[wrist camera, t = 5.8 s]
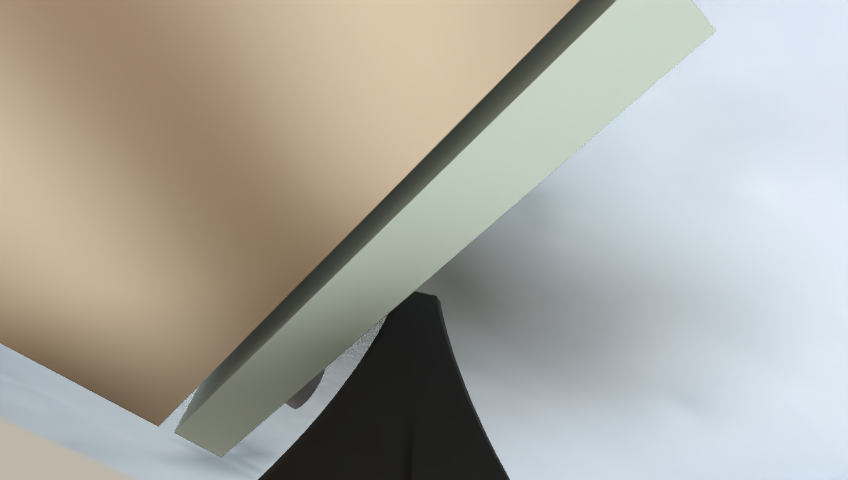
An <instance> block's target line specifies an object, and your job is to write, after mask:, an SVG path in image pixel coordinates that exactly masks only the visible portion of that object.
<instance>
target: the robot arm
mask: <svg viewBox="0 0 848 480" xmlns="http://www.w3.org/2000/svg"><path fill="white" fill-rule="evenodd" d="M258 480H510V479H509V477H508V475H507V473H506V471H505V470H504V468H503V466H502V464H501V462H500V460H499V458H498V457H497V455H496V453H495V451H494V449H493V447H492V445H491V443H490V441H489V439H488V437H487V435H486V433H485V430H484V428H483V426H482V424H481V422H480V420H479V417H478V415H477V413H476V411H475V408H474V406H473V404H472V401H471V399H470V397H469V394H468V392H467V389H466V387H465V384H464V381H463V379H462V376H461V373H460V370H459V368H458V365H457V362H456V360H455V357H454V354H453V351H452V347H451V344H450V341H449V337H448V334H447V331H446V327H445V323H444V319H443V314H442V310H441V304H440V301H439V299H438V298H437V296H434V295H429V294H424V293H420V292H415V291H414V292H413V293H412V294H410V295H409V296H408V297H407V298H406V299H405V300H403V301H402V302H401V303H400V304H399V305H398V306H396V307H395V308H394V309H393V310H392V311H391V312H389V313H388V315H387V318H386V320H385V321H384V323H383V325H382V327H381V329H380V331H379V333H378V334H377V336H376V338H375V339H374V341H373V342H372V344H371V346H370V347H369V349H368V350H367V352H366V354H365V355H364V357H363V358H362V360H361V361H360V363H359V364H358V366H357V367H356V368H355V370H354V371H353V373H352V374H351V375H350V377H349V378H348V379H347V381H346V382H345V383H344V385H343V386H342V387H341V389H340V390H339V391H338V393H337V394H336V395H335V397H334V398H333V399H332V400H331V402H330V403H329V404H328V405H327V407H326V408H325V409H324V410H323V411H322V413H321V414H320V415H319V416H318V417H317V418H316V420H315V421H314V422H313V423H312V424H311V425H310V426H309V427H308V429H307V430H306V431H305V432H304V433H303V434H302V435H301V436H300V437H299V439H298V440H297V441H296V442H295V443H294V444H293V445H292V446H291V447H290V448H289V449H288V450H287V451H286V452H285V453H284V454H283V455H282V456H281V457H280V458H279V459H278V460H277V461H276V463H275V464H274V465H273V466H272V467H270V468H269V469H268V470H267V471H266V472H265V473H264V474H263V475H262V476H261V477H260V478H259V479H258Z"/></svg>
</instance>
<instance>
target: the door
mask: <svg viewBox="0 0 848 480" xmlns="http://www.w3.org/2000/svg"><path fill="white" fill-rule="evenodd" d="M715 31H716V30H715V28H714V27H713V26H712V25H711V23H710V22H709V21H708V20H707V18H706V17H705V16H704V15H703V13H702V12H701V11H700V10H699V8H698V7H697V6H696V5H695V3H694V2H693V1H692V0H580V1H579V2H578V3H577V4H576V5H575V6H574V7H573V8H572V9H571V10H570V11H569V12H568V13H567V14H566V15H565V16H564V17H563V18H562V19H561V20H560V21H559V22H558V23H557V24H556V25H555V26H554V27H553V28H552V29H551V30H550V31H549V32H548V33H547V34H546V35H545V36H544V37H543V38H542V39H541V40H540V41H539V42H538V43H537V44H536V45H535V46H534V47H533V48H532V49H531V50H530V51H529V52H528V53H527V54H526V55H525V56H524V57H523V58H522V59H521V60H520V61H519V62H518V63H517V64H516V65H515V66H514V67H513V68H512V69H511V70H510V71H509V72H508V73H507V74H506V76H505V77H504V78H503V79H502V80H501V81H500V82H499V83H498V84H497V85H496V86H495V87H494V88H493V89H492V90H491V91H490V92H489V93H488V94H487V95H486V96H485V97H484V98H483V99H482V100H481V101H480V102H479V103H478V104H477V105H476V106H475V107H474V108H473V109H472V110H471V111H470V112H469V113H468V114H467V115H466V116H465V117H464V118H463V119H462V120H461V121H460V122H459V123H458V124H457V125H456V126H455V127H454V128H453V129H452V130H451V131H450V132H449V133H448V134H447V135H446V136H445V137H444V138H443V139H442V140H441V141H440V142H439V143H438V144H437V145H436V146H435V147H434V148H433V149H432V150H431V151H430V152H429V153H428V154H427V155H426V156H425V157H424V158H423V159H422V160H421V161H420V162H419V164H418V165H417V166H416V167H415V168H414V169H413V170H412V171H411V172H410V173H409V174H408V175H407V176H406V177H405V178H404V179H403V180H402V181H401V182H400V183H399V184H398V185H397V186H396V187H395V188H394V189H393V190H392V191H391V192H390V193H389V194H388V195H387V196H386V197H385V198H384V199H383V200H382V201H381V202H380V203H379V204H378V205H377V206H376V207H375V208H374V209H373V210H372V211H371V212H370V213H369V214H368V215H367V216H366V217H365V218H364V219H363V220H362V221H361V222H360V223H359V224H358V225H357V226H356V227H355V228H354V229H353V230H352V231H351V232H350V233H349V234H348V235H347V236H346V237H345V238H344V239H343V240H342V241H341V242H340V243H339V244H338V245H337V246H336V247H335V248H334V249H333V250H332V252H331V253H330V254H329V255H328V256H327V257H326V258H325V259H324V260H323V261H322V262H321V263H320V264H319V265H318V266H317V267H316V268H315V269H314V270H313V271H312V272H311V273H310V274H309V275H308V276H307V277H306V278H305V279H304V280H303V281H302V282H301V283H300V284H299V285H298V286H297V287H296V288H295V289H294V290H293V291H292V292H291V293H290V294H289V295H288V296H287V297H286V298H285V299H284V300H283V301H282V302H281V303H280V304H279V305H278V306H277V307H276V308H275V309H274V310H273V311H272V312H271V313H270V314H269V315H268V316H267V317H266V318H265V319H264V320H263V321H262V322H261V323H260V324H259V325H258V326H257V327H256V328H255V329H254V330H253V331H252V332H251V333H250V334H249V335H248V336H247V337H246V339H245V340H244V341H243V342H242V343H241V344H240V345H239V346H238V347H237V348H236V349H235V350H234V351H233V352H232V353H231V354H230V355H229V356H228V357H227V358H226V359H225V360H224V361H223V362H222V363H221V364H220V365H219V366H218V367H217V368H216V369H215V370H214V371H213V372H212V373H211V374H210V375H209V376H208V377H207V378H206V379H205V380H204V381H203V382H202V383H201V384H200V386H199V388H198V389H197V391H196V393H195V395H194V397H193V399H192V400H191V402H190V404H189V406H188V408H187V410H186V412H185V413H184V415H183V417H182V419H181V421H180V423H179V424H178V426H177V428H176V430H175V432H174V433H176V434H178V435H179V436H181V437H183V438H185V439H187V440H189V441H191V442H193V443H195V444H196V445H198V446H200V447H202V448H204V449H206V450H208V451H210V452H212V453H214V454H215V455H217V456H219V457H222V456H224V455H225V454H226V453H227V452H228V451H229V450H231V449H232V448H233V447H234V446H235V445H236V444H238V443H239V442H240V441H241V440H242V439H243V438H244V437H246V436H247V435H248V434H249V433H250V432H251V431H253V430H254V429H255V428H256V427H257V426H258V425H260V424H261V423H262V422H263V421H264V420H265V419H267V418H268V417H269V416H270V415H271V414H272V413H273V412H275V411H276V410H277V409H278V408H279V407H280V406H282V405H283V404H284V403H285V404H287V405H289V406H290V407H292V408H294V409H297V408H299V407H301V406H302V405H303V404H304V403H305V402H306V401H307V400H308V399H309V398H310V396H311V395H312V394H313V392H314V391H315V389H316V388H317V386H318V384H319V383H320V381H321V379H322V376H323V374H324V371H325V368H326V367H327V366H328V365H329V364H330V363H331V362H333V361H334V360H335V359H336V358H337V357H338V356H340V355H341V354H342V353H343V352H344V351H345V350H347V349H348V348H349V347H350V346H351V345H352V344H354V343H355V342H356V341H357V340H358V339H359V338H360V337H362V336H363V335H364V334H365V333H366V332H367V331H369V330H370V329H371V328H372V327H373V326H374V325H376V324H377V323H378V322H379V321H380V320H381V319H383V318H384V317H385V316H386V315H387V314H388V313H389V312H391V311H392V310H393V309H394V308H395V307H396V306H398V305H399V304H400V303H401V302H402V301H403V300H405V299H406V298H407V297H408V296H409V295H410V294H412V293H413V292H414V291H415V290H416V289H417V288H418V287H420V286H421V285H422V284H423V283H424V282H425V281H427V280H428V279H429V278H430V277H431V276H432V275H434V274H435V273H436V272H437V271H438V270H439V269H441V268H442V267H443V266H444V265H445V264H446V263H447V262H449V261H450V260H451V259H452V258H453V257H454V256H456V255H457V254H458V253H459V252H460V251H461V250H463V249H464V248H465V247H466V246H467V245H468V244H470V243H471V242H472V241H473V240H474V239H475V238H476V237H478V236H479V235H480V234H481V233H482V232H483V231H485V230H486V229H487V228H488V227H489V226H490V225H492V224H493V223H494V222H495V221H496V220H497V219H499V218H500V217H501V216H502V215H503V214H504V213H505V212H507V211H508V210H509V209H510V208H511V207H512V206H514V205H515V204H516V203H517V202H518V201H519V200H521V199H522V198H523V197H524V196H525V195H526V194H528V193H529V192H530V191H531V190H532V189H533V188H534V187H536V186H537V185H538V184H539V183H540V182H541V181H543V180H544V179H545V178H546V177H547V176H548V175H550V174H551V173H552V172H553V171H554V170H555V169H557V168H558V167H559V166H560V165H561V164H562V163H563V162H565V161H566V160H567V159H568V158H569V157H570V156H572V155H573V154H574V153H575V152H576V151H577V150H579V149H580V148H581V147H582V146H583V145H584V144H586V143H587V142H588V141H589V140H590V139H591V138H592V137H594V136H595V135H596V134H597V133H598V132H599V131H601V130H602V129H603V128H604V127H605V126H606V125H608V124H609V123H610V122H611V121H612V120H613V119H615V118H616V117H617V116H618V115H619V114H620V113H621V112H623V111H624V110H625V109H626V108H627V107H628V106H630V105H631V104H632V103H633V102H634V101H635V100H637V99H638V98H639V97H640V96H641V95H642V94H644V93H645V92H646V91H647V90H648V89H649V88H650V87H652V86H653V85H654V84H655V83H656V82H657V81H659V80H660V79H661V78H662V77H663V76H664V75H666V74H667V73H668V72H669V71H670V70H671V69H673V68H674V67H675V66H676V65H677V64H678V63H679V62H681V61H682V60H683V59H684V58H685V57H686V56H688V55H689V54H690V53H691V52H692V51H693V50H695V49H696V48H697V47H698V46H699V45H700V44H702V43H703V42H704V41H705V40H706V39H707V38H708V37H710V36H711V35H712V34H713V33H714V32H715Z"/></svg>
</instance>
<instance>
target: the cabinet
mask: <svg viewBox="0 0 848 480" xmlns="http://www.w3.org/2000/svg"><path fill="white" fill-rule="evenodd" d="M579 1H580V0H0V343H1V344H3V345H5V346H7V347H9V348H11V349H12V350H14V351H16V352H18V353H20V354H22V355H24V356H26V357H28V358H30V359H31V360H33V361H35V362H37V363H39V364H41V365H43V366H45V367H47V368H48V369H50V370H52V371H54V372H56V373H58V374H60V375H62V376H64V377H66V378H67V379H69V380H71V381H73V382H75V383H77V384H79V385H81V386H83V387H84V388H86V389H88V390H90V391H92V392H94V393H96V394H98V395H100V396H102V397H103V398H105V399H107V400H109V401H111V402H113V403H115V404H117V405H119V406H121V407H122V408H124V409H126V410H128V411H130V412H132V413H134V414H136V415H138V416H139V417H141V418H143V419H145V420H147V421H149V422H151V423H153V424H155V425H157V426H158V427H159V425H160V424H161V423H162V422H163V421H164V420H165V419H166V418H167V417H168V416H169V415H170V414H171V413H172V412H173V411H174V410H175V409H176V408H177V407H178V406H179V405H180V404H181V403H182V402H183V401H184V400H185V399H186V398H187V397H188V396H189V395H190V394H191V393H192V392H193V391H194V390H195V389H196V388H197V387H198V386H199V385H200V384H201V383H202V382H203V381H204V380H205V379H206V378H207V377H208V376H209V375H210V374H211V373H212V372H213V371H214V370H215V369H216V368H217V367H218V366H219V365H220V364H221V363H222V362H223V361H224V360H225V359H226V358H227V357H228V356H229V355H230V354H231V353H232V352H233V351H234V350H235V349H236V348H237V347H238V346H239V345H240V344H241V343H242V342H243V341H244V340H245V339H246V337H247V336H248V335H249V334H250V333H251V332H252V331H253V330H254V329H255V328H256V327H257V326H258V325H259V324H260V323H261V322H262V321H263V320H264V319H265V318H266V317H267V316H268V315H269V314H270V313H271V312H272V311H273V310H274V309H275V308H276V307H277V306H278V305H279V304H280V303H281V302H282V301H283V300H284V299H285V298H286V297H287V296H288V295H289V294H290V293H291V292H292V291H293V290H294V289H295V288H296V287H297V286H298V285H299V284H300V283H301V282H302V281H303V280H304V279H305V278H306V277H307V276H308V275H309V274H310V273H311V272H312V271H313V270H314V269H315V268H316V267H317V266H318V265H319V264H320V263H321V262H322V261H323V260H324V259H325V258H326V257H327V256H328V255H329V254H330V253H331V252H332V250H333V249H334V248H335V247H336V246H337V245H338V244H339V243H340V242H341V241H342V240H343V239H344V238H345V237H346V236H347V235H348V234H349V233H350V232H351V231H352V230H353V229H354V228H355V227H356V226H357V225H358V224H359V223H360V222H361V221H362V220H363V219H364V218H365V217H366V216H367V215H368V214H369V213H370V212H371V211H372V210H373V209H374V208H375V207H376V206H377V205H378V204H379V203H380V202H381V201H382V200H383V199H384V198H385V197H386V196H387V195H388V194H389V193H390V192H391V191H392V190H393V189H394V188H395V187H396V186H397V185H398V184H399V183H400V182H401V181H402V180H403V179H404V178H405V177H406V176H407V175H408V174H409V173H410V172H411V171H412V170H413V169H414V168H415V167H416V166H417V165H418V164H419V162H420V161H421V160H422V159H423V158H424V157H425V156H426V155H427V154H428V153H429V152H430V151H431V150H432V149H433V148H434V147H435V146H436V145H437V144H438V143H439V142H440V141H441V140H442V139H443V138H444V137H445V136H446V135H447V134H448V133H449V132H450V131H451V130H452V129H453V128H454V127H455V126H456V125H457V124H458V123H459V122H460V121H461V120H462V119H463V118H464V117H465V116H466V115H467V114H468V113H469V112H470V111H471V110H472V109H473V108H474V107H475V106H476V105H477V104H478V103H479V102H480V101H481V100H482V99H483V98H484V97H485V96H486V95H487V94H488V93H489V92H490V91H491V90H492V89H493V88H494V87H495V86H496V85H497V84H498V83H499V82H500V81H501V80H502V79H503V78H504V77H505V76H506V74H507V73H508V72H509V71H510V70H511V69H512V68H513V67H514V66H515V65H516V64H517V63H518V62H519V61H520V60H521V59H522V58H523V57H524V56H525V55H526V54H527V53H528V52H529V51H530V50H531V49H532V48H533V47H534V46H535V45H536V44H537V43H538V42H539V41H540V40H541V39H542V38H543V37H544V36H545V35H546V34H547V33H548V32H549V31H550V30H551V29H552V28H553V27H554V26H555V25H556V24H557V23H558V22H559V21H560V20H561V19H562V18H563V17H564V16H565V15H566V14H567V13H568V12H569V11H570V10H571V9H572V8H573V7H574V6H575V5H576V4H577V3H578V2H579Z"/></svg>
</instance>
